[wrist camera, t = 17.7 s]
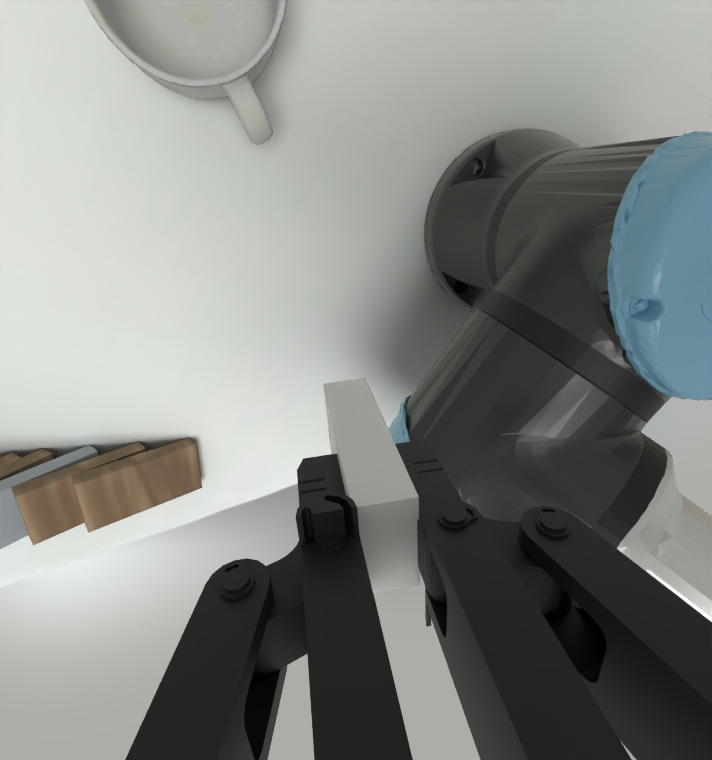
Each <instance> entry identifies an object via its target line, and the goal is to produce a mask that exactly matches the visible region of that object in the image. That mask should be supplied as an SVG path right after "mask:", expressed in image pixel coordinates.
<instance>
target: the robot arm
mask: <svg viewBox="0 0 712 760" xmlns="http://www.w3.org/2000/svg"><path fill="white" fill-rule="evenodd" d="M425 248H426V254H427V258H428V262H429V265H430V267H431V270H432V272H433V274H434V276H435V278H436V279H437V281H438V282H439V284H440V285H441V286H442V287H443V289H444V290H445V291H446V292H447V293H448V294H449V295H451V296H452V297H453V298H455V299H456V300H458V301H459V302H461V303H462V304H464V305H465V306H467V307H469V308H471V309H473V310H474V311H473V312H472V314H471V315H470V316H469V318H468V319H467V321H466V322H465V323H464V325H463V326H462V328H461V329H460V330H459V332H458V333H457V334H456V336H455V337H454V339H453V340H452V341H451V343H450V344H449V346H448V347H447V348H446V350H445V351H444V352H443V354H442V355H441V357H440V358H439V359H438V361H437V362H436V364H435V365H434V366H433V368H432V369H431V370H430V372H429V373H428V374H427V376H426V377H425V378H424V380H423V381H422V382H421V384H420V385H419V386H418V388H417V389H416V390H415V392H414V393H413V394H412V396H409V397H406V398H405V399H404V401H403V402H402V404H401V406H400V412H399V413H398V415H397V416H396V418H395V419H394V421H393V422H392V424H391V425H390V427H389V428H387V425H386V423H385V421H384V419H383V416H382V414H381V412H380V410H379V408H378V405H377V403H376V401H375V399H374V396H373V394H372V392H371V390H370V387H369V385H368V383H367V381H366V379H365V378H364V379H357V380H349V381H342V382H334V383H326V384H324V392H325V401H326V411H327V420H328V429H329V438H330V447H331V453H332V454H331V455H325V456H318V457H311V458H305V459H303V460H302V462H301V464H300V466H299V468H298V469H297V476H298V491H299V505H300V506H299V508H298V509H297V513H296V522H297V528H298V534H299V542H298V545H297V546H296V547H295V548H294V549H293V551H291V552H290V553H289V554H288V555H287V556H285V557H284V558H282V559H280V560H278V561H276V562H274V563H272V564H270V565H268V566H265V565H264V564H262V563H261V562H259V561H257V560H252V559H241V560H235V561H232V562H230V563H228V564H225V565H223V566H222V567H221V568H219V569H218V570H217V571H216V572H215V573H213V574H212V576H211V577H210V579H209V580H208V581H207V583H206V584H205V587H204V589H203V591H202V593H201V596H200V598H199V600H198V602H197V604H196V606H195V608H194V611H193V613H192V615H191V618H190V619H189V622H188V624H187V626H186V628H185V630H184V633H183V635H182V637H181V639H180V642H179V643H178V646H177V648H176V650H175V652H174V654H173V657H172V659H171V661H170V663H169V665H168V668H167V670H166V672H165V674H164V676H163V679H162V681H161V683H160V685H159V687H158V690H157V692H156V694H155V696H154V698H153V701H152V703H151V705H150V707H149V709H148V711H147V713H146V716H145V718H144V720H143V722H142V724H141V727H140V729H139V731H138V733H137V735H136V738H135V740H134V742H133V744H132V747H131V748H130V751H129V753H128V755H127V757H126V759H125V760H267V759H268V754H269V750H270V745H271V741H272V736H273V731H274V727H275V722H276V717H277V713H278V708H279V703H280V699H281V694H282V689H283V684H284V680H285V675H286V671H287V665H288V664H290V663H291V662H293V661H295V660H297V659H298V658H300V657H302V656H304V655H306V654H307V653H308V668H309V683H310V698H311V713H312V728H313V742H314V758H315V760H413V759H412V756H411V751H410V747H409V743H408V738H407V734H406V730H405V726H404V721H403V717H402V713H401V709H400V705H399V700H398V697H397V692H396V688H395V683H394V679H393V675H392V671H391V667H390V663H389V658H388V654H387V649H386V646H385V641H384V637H383V633H382V629H381V625H380V620H379V616H378V611H377V607H376V603H375V599H374V595H373V594H374V593H380V592H384V591H390V590H396V589H401V588H406V587H411V586H416V585H420V573H421V575H422V578H423V581H424V583H425V599H426V600H425V601H426V602H425V603H426V604H425V612H426V614H425V616H426V626H431V619H432V621H433V625H434V628H435V630H436V633H437V636H438V639H439V642H440V645H441V647H442V650H443V653H444V656H445V659H446V662H447V664H448V668H449V670H450V673H451V676H452V679H453V682H454V685H455V688H456V690H457V693H458V696H459V699H460V702H461V705H462V708H463V710H464V713H465V716H466V719H467V722H468V725H469V728H470V730H471V733H472V736H473V739H474V742H475V745H476V748H477V750H478V753H479V756H480V759H481V760H631V758H630V756H629V755H628V753H627V752H626V750H625V748H624V746H623V745H622V743H623V744H624V745H625V747H626V748H627V749H628V750H629V751H630V752H631V753H632V755H633V756H634V757H635V758H636V760H712V516H711V515H710V514H708V513H707V512H705V511H704V510H703V509H701V508H700V507H698V506H697V505H695V504H694V503H693V502H691V501H690V500H689V499H687V498H686V497H684V496H683V495H681V494H680V493H679V491H678V489H677V487H676V481H675V472H674V465H673V459H672V455H671V454H670V453H669V452H668V451H667V450H666V449H665V448H664V447H662V446H660V445H659V444H657V443H656V442H654V441H653V440H651V439H650V438H649V437H647V436H646V435H644V434H643V433H641V430H642V429H643V427H644V426H645V425H646V422H648V421H649V420H650V419H651V418H652V417H653V416H654V415H655V413H656V412H657V411H658V410H659V409H660V408H661V407H662V406H663V405H664V404H665V403H666V402H667V401H668V400H669V399H670V398H671V397H678V398H681V399H694V400H711V399H712V133H710V132H693V133H689V134H683V135H681V136H675V137H666V138H658V139H650V140H642V141H634V142H626V143H617V144H609V145H601V146H593V147H585V148H581V147H580V146H578V145H576V144H575V143H573V142H571V141H569V140H568V139H566V138H564V137H562V136H560V135H558V134H555V133H553V132H549V131H545V130H540V129H518V130H512V131H507V132H502V133H498V134H494V135H492V136H489V137H487V138H484V139H482V140H480V141H479V142H477V143H475V144H474V145H472V146H471V147H469V148H468V149H467V150H465V151H464V152H463V153H462V154H461V155H460V156H458V157H457V159H456V160H455V161H454V162H453V163H452V164H451V165H450V166H449V168H448V169H447V170H446V172H445V173H444V174H443V176H442V178H441V179H440V181H439V183H438V184H437V186H436V188H435V191H434V193H433V195H432V198H431V201H430V204H429V207H428V211H427V215H426V221H425ZM621 742H622V743H621Z"/></svg>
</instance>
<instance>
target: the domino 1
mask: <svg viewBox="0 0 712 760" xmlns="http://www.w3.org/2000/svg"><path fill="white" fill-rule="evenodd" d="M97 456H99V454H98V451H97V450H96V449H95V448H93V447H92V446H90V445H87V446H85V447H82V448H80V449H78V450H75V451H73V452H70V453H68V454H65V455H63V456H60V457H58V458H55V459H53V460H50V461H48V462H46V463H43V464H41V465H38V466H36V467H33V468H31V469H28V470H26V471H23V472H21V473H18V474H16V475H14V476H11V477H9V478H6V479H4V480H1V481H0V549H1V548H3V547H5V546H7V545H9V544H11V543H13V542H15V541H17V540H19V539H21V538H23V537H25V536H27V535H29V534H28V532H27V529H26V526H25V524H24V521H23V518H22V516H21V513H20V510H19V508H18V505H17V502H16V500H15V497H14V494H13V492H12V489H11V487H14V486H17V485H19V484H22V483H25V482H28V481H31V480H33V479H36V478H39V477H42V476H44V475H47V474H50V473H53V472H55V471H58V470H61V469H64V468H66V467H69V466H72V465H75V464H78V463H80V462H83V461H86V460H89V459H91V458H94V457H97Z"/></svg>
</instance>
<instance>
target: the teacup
mask: <svg viewBox="0 0 712 760" xmlns="http://www.w3.org/2000/svg"><path fill="white" fill-rule="evenodd" d="M84 1H85V2H86V4H87V6H88V8H89V10H90V12H91V14H92V16H93V17H94V19H95V20H96V22H97V23H98V25H99V26H100V28H101V29H102V30H103V31H104V33H105V34H106V36H107V37H108V38H109V39H110V40H111V42H112V43H113V44H114V45H115V46H116V47H117V48H118V49H119V50H120V51H121V52H122V53H123V54H124V55H125V56H126V57H127V58H128V59H129V60H130V61H132V62H133V63H134V64H136V65H137V66H138V67H139V68H140V69H141V70H142V71H143V72H145V73H146V74H147V75H148V76H149V77H151V78H152V79H153V80H155V81H156V82H158V83H159V84H161V85H162V86H164V87H166V88H168V89H170V90H172V91H174V92H176V93H178V94H181V95H184V96H187V97H191V98H197V99H217V98H223V97H228V98H229V99H230V101H231V103H232V105H233V106H234V108H235V110H236V112H237V114H238V116H239V118H240V120H241V122H242V124H243V126H244V129H245V131H246V133H247V135H248V137H249V139H250V140H251V142H252V143H253V144H256V145H257V144H262V143H264V142H266V141H267V140H269V139H270V137H271V136H272V133H273V131H272V128H271V125H270V122H269V119H268V117H267V115H266V113H265V111H264V108H263V106H262V104H261V102H260V100H259V98H258V96H257V94H256V92H255V90H254V88H253V86H252V84H251V83H252V82H253V81H254V80H255V79H256V78H257V77H258V75H259V74H260V73H261V72H262V70H263V69H264V67H265V66H266V64H267V62H268V60H269V58H270V56H271V54H272V52H273V49H274V47H275V43H276V40H277V36H278V34H279V31H280V29H281V26H282V23H283V19H284V16H285V10H286V3H287V0H84Z"/></svg>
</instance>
